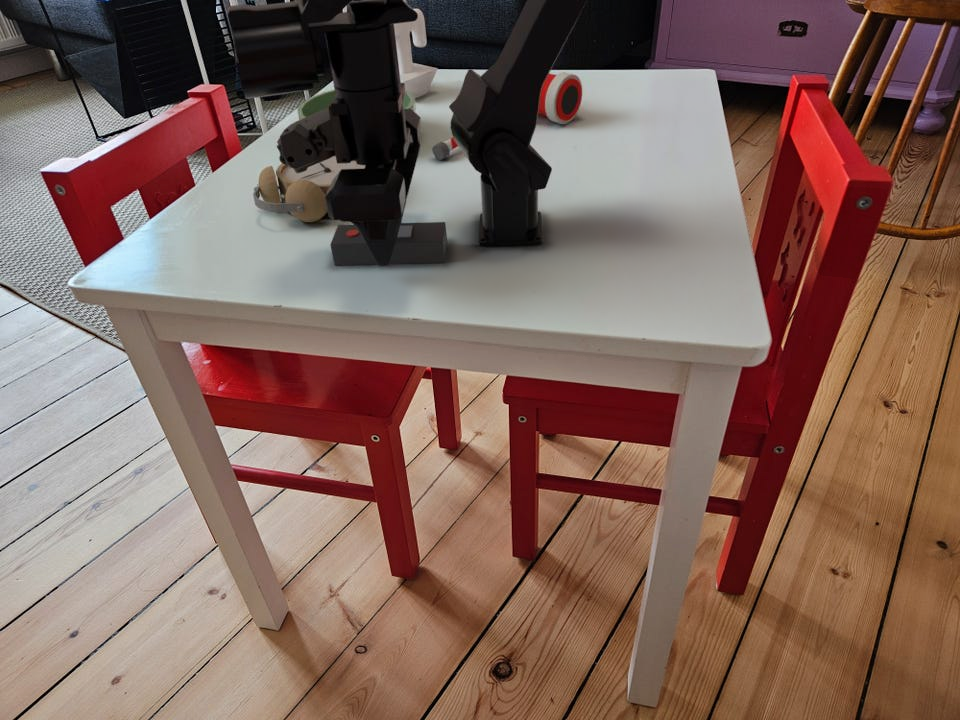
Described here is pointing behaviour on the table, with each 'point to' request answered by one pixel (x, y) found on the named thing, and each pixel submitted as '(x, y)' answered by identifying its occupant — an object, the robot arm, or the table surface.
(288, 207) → the alarm clock
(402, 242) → the remote
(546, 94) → the toy hammer
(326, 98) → the bowl
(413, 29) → the figurine
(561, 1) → the robot arm
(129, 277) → the table surface
